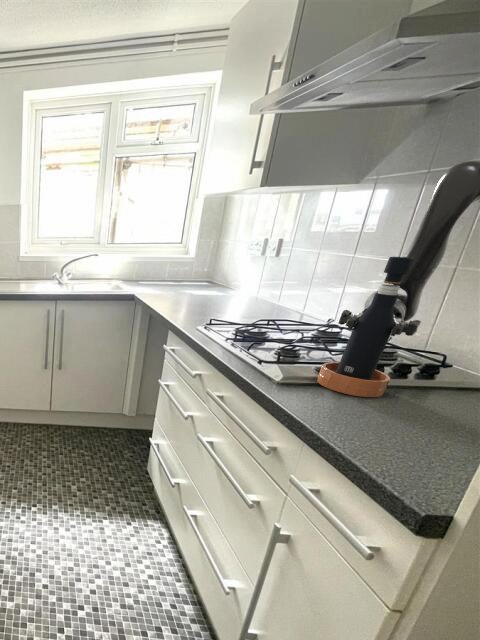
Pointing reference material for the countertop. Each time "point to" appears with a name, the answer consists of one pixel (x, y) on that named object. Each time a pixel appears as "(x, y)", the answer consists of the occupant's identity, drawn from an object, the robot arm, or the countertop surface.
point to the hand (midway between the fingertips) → (372, 327)
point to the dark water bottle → (374, 325)
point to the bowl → (352, 382)
